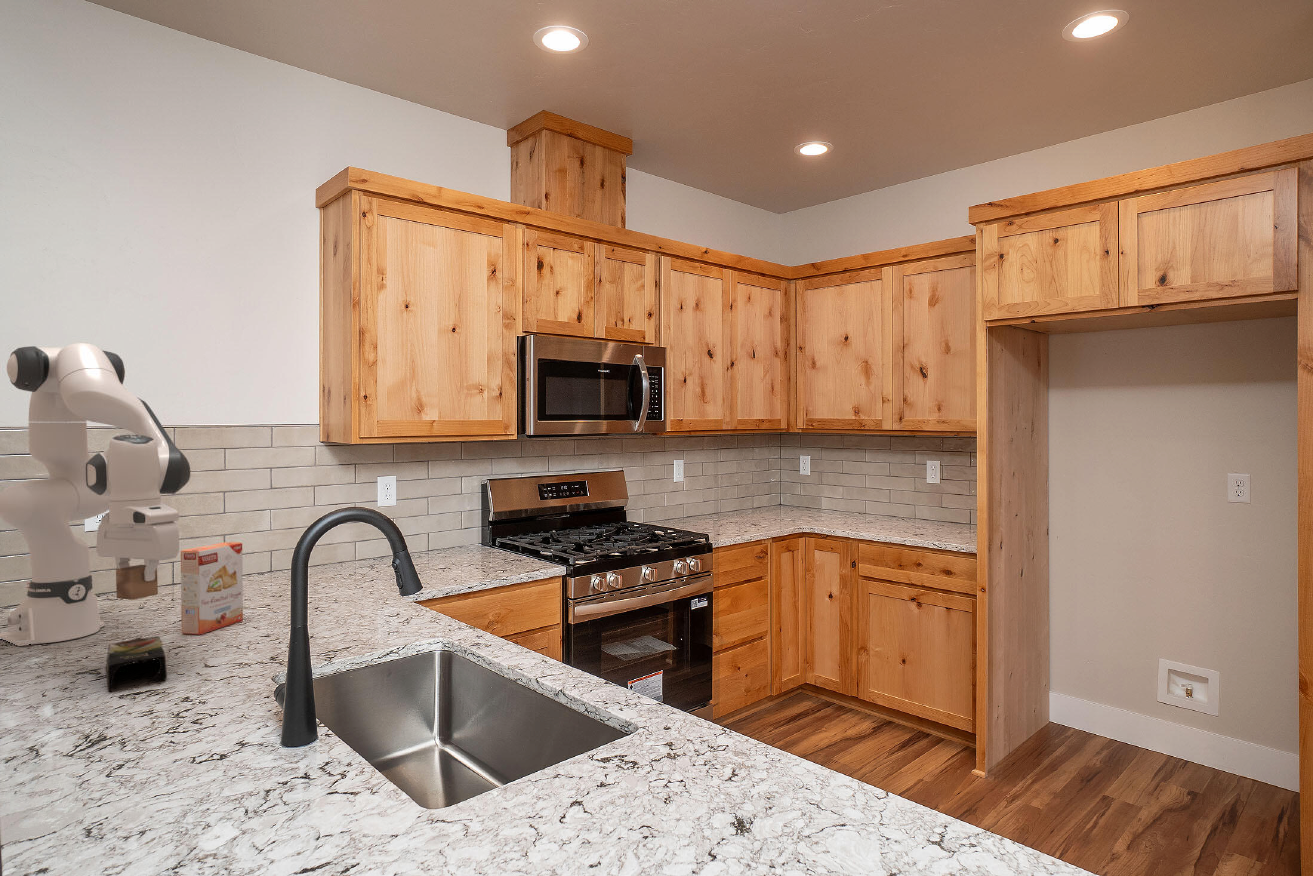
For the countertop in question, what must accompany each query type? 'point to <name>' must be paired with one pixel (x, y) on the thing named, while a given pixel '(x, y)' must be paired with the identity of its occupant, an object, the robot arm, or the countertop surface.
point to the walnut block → (134, 583)
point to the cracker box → (211, 587)
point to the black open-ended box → (135, 656)
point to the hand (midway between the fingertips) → (137, 579)
